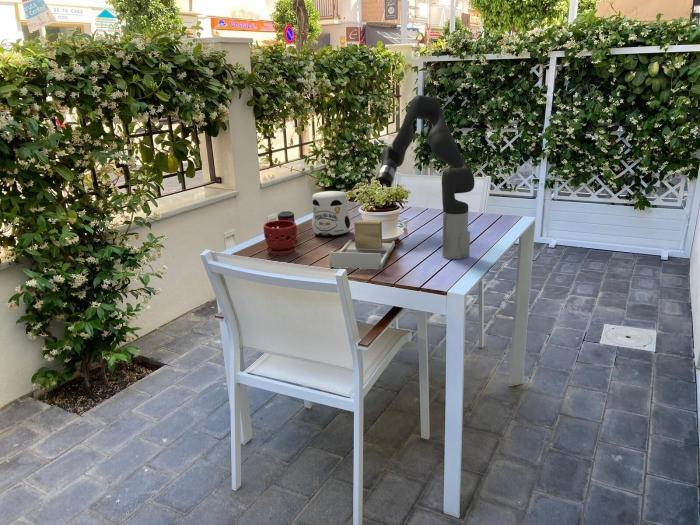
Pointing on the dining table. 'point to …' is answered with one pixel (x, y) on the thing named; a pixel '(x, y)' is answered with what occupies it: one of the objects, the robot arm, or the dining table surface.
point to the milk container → (330, 214)
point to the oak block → (368, 234)
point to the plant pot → (280, 237)
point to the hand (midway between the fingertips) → (376, 201)
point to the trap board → (361, 256)
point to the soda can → (286, 216)
